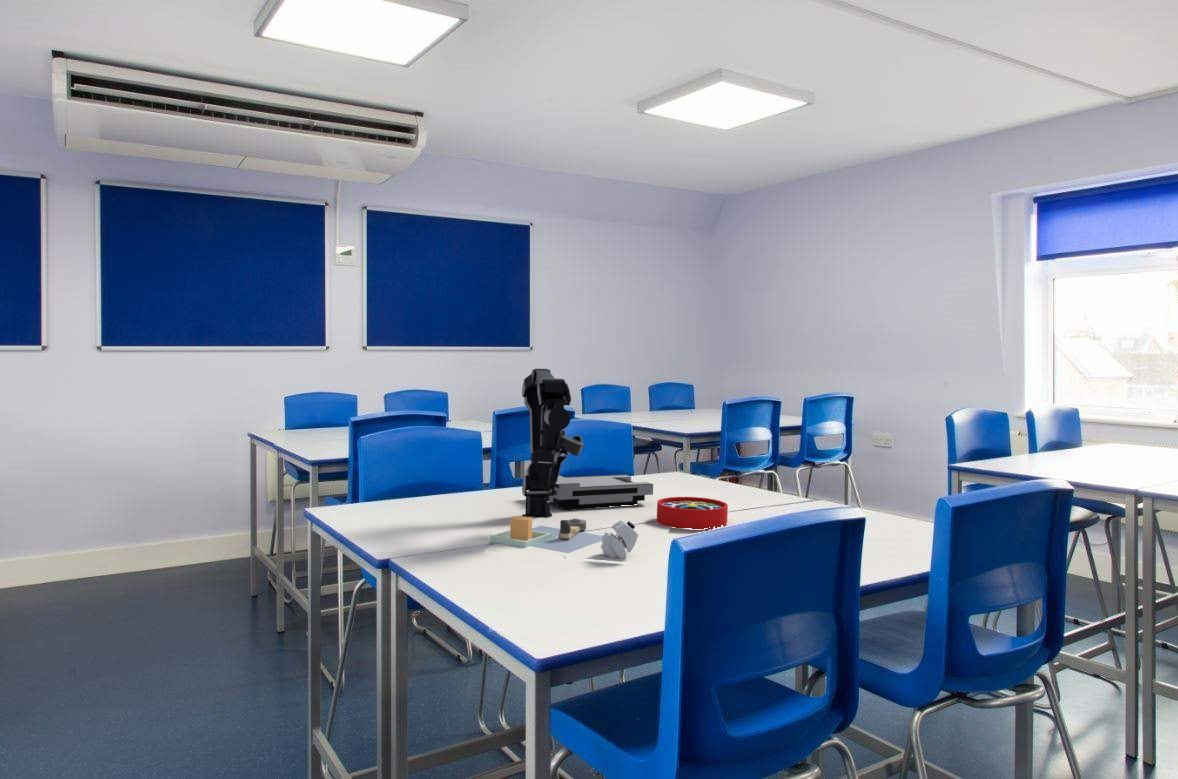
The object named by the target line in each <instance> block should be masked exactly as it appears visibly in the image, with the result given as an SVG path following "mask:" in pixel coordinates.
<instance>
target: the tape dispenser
mask: <svg viewBox="0 0 1178 779" xmlns="http://www.w3.org/2000/svg"><path fill="white" fill-rule="evenodd" d="M611 528H612V529H613V530H614V531H615V533H616V534H614V533H613V532H611V533H609V532H607V531H605V532H604V534H603V535H602V536H603V537H602V541H601V545H600V549H601V550H602V553H603V556H604V557H610V558H619V559H627V553H631V552H632V550H633V549H634V547H635V545H636V543H637V540H638V537H639V534H638V532H637V531H635V528H636V525H635V524H634V523H632V522H631V521H630V520H628V521H627V522H625V521H623V520H622V519H621V520H619V521H616V522H614V523H613V525H612V526H611Z"/></svg>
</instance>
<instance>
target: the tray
mask: <svg viewBox="0 0 1178 779" xmlns="http://www.w3.org/2000/svg"><path fill="white" fill-rule="evenodd" d="M508 536H510V529H507V530H504V531H502V532H498V533H495V534H491V535H489V544H492V545H494V544H495V543H498V544H499V543H500V544H504V545H510V546H515V547H520V548H529V547H533V546H532V545H535V544H538V543H541V542H544V541H547V540H550V539H552V534H550V533H544V532H538V531H532V537H536V538H533V539H530V540H527V541H522V540H517V539H511V538H506V537H508Z"/></svg>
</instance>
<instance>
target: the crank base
mask: <svg viewBox="0 0 1178 779" xmlns="http://www.w3.org/2000/svg"><path fill="white" fill-rule="evenodd" d="M532 531H538V532H544V533H550V534H552V539H550V540H547V541H544V542H541V543H538V544H535V545H532V546H531V547H534V548H539V549H544V550H550V551H555V552H556V551H557V552H561V553H567V554H570V553H572V552H575V551H577V550H581V549H583V548H586V547H588V546H591V545H594V544H596V543H600V542H602V537H603V535H601V534H595V533H594V534H593V533H589V532H588V533H587V532H582V531H578V532H577V533H576V534H575V535H574V536H572V537H571V538H570V539H562V538H558V533H560V527H559V528H558V527H552V526H547V525H539V526H534V527H532ZM506 538H510V536H508V537H506ZM533 538H536V537H532V539H533Z"/></svg>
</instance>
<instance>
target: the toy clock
mask: <svg viewBox="0 0 1178 779" xmlns="http://www.w3.org/2000/svg"><path fill="white" fill-rule="evenodd" d="M728 506H729V504H728V503H727V502H725V501H722V500H720V499H719V500H718V499H714V498H708V497H707V498H706V497H697V496H696V497H695V496H672V497H671V496H670V497H663V498H661V499H658V500H657V501H656V523H657V522H658V523H659V524H658V523H657V524H658V525H660V524H662V525H661V526H663V525H665V526H664V527H670V528H671V527H676V528H692V529H704V528H708V529H705V530H704V531H710V530H709V529H713V527H714V526H715V528H717V527H721V525H723V526H726V525H727V526H728V509H729V508H728ZM726 523H727V524H726ZM727 526H726V527H727ZM709 527H710V528H709Z"/></svg>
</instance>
